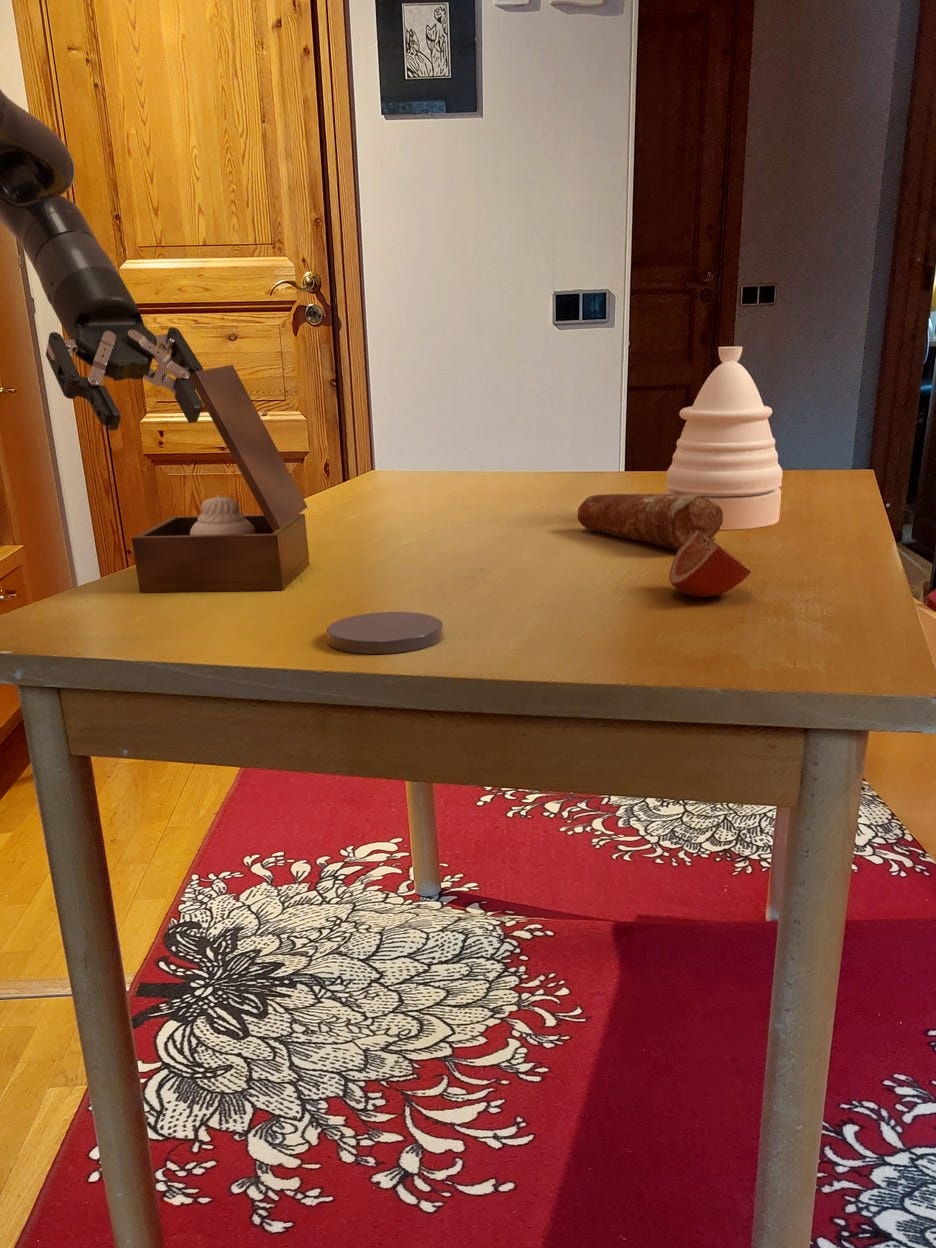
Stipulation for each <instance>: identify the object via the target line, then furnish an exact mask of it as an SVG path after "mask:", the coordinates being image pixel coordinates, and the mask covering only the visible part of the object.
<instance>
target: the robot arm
mask: <svg viewBox="0 0 936 1248" xmlns="http://www.w3.org/2000/svg"><path fill="white" fill-rule="evenodd" d="M75 172H76V171H75V163H74V160H73V157H72V155H71V153H70V150H69V149H68V147H67V146H66V144H65V143H64V142H63V140H62V139H61V137H59V136H58V134H56V132H54V130H53V129H52V128H50V127H49V126H48V125H46V124H45V122H43V121H41V120H40V119H39V118H38V117H36V116H35V115H33V114H31V113H30V112H28V111H26V110H25V109H24V108H22V107H21V106H20V105H18V104H16V103H15V102H14V101H13V100H12V99H10V98H9V97H8V96H7V95H6V94H5V93H4V92H3V91H2V90H1V89H0V224H2V225H3V226H4V227H5V228H6V229H7V230H8V231H9V232H10V233H11V234H12V235H13V236H14V238H15V239H16V240H17V241H18V243H19V244H20V246H21V247H22V249H23V251H24V253H25V254H26V256H27V258H28V260H29V262H30V263H31V265H32V267H33V269H34V271H35V273H36V274H37V276H38V279H39V281H40V285H41V287H42V290H43V292H44V294H45V296H46V299H47V302H48V303H49V304H50V306H51V307H52V310H53V311H54V313H55V315H56V317H57V319H58V321H59V323H60V324H61V326H62V328H63V330H64V332H65V334H66V336H67V339H65V338H63V336H62V335H61V334H60V333H59V332H56V331H53V332H50V333H49V334H48V340H47V345H46V351H45V357H46V359H47V362H48V363H49V366H50V368H51V370H52V372H53V374H54V376H55V379H56V381H57V383H58V386H59V387H60V390H61V392H62V395H63V396H64V397H65V398H67V399H69V400H74V399H76V397H79V398H83V399H84V400H85V401H86V402H87V403H89V405H90V407H91V408H92V410H93V412H94V413H95V416H96V418H97V420H98V421H99V423H100V424H101V425H102V426H106V427H107V429H108V431H118V429H119V426H120V422H121V419H122V417H121V413H120V410H119V408H118V406H116V403H115V402H114V399H113V398H112V396H111V393H110V392H109V390H108V389H107V386H106V385H104V381H105V379H106V377H107V378H109V379H112V380H113V382H117V381H118V382H119V381H124V380H126V379H131V380H143V379H145V380H146V381H148V382H149V383H150V384H152V385H154V386H156V387H159V386H162V387H164V388H165V389H166V390H168V391H170V392H172V393H173V394H174V396H173V397H174V399H175V400H176V402H177V404H178V407H179V408H180V410H181V411H182V414H183V415H184V417H185V418H186V420H187V422H188V423H189V424H194V423H198V421H199V418H200V416H201V412H202V409H203V402H202V400H201V398H200V396H199V394H198V393H197V391H196V389H195V387H194V385H193V383H192V382H191V380H190V378H189V375H191V374H193V373H195V372H198V371H203V370H204V367H203V366H202V364H201V362H200V361H199V359H198V358H197V356H196V355H195V353H194V352H193V350H192V348H191V346H190V345H189V344H188V342H187V340H186V339H185V337H184V336H183V334H182V332H181V331H180V329H178V328H176V327H174V326H172V327H169V328H168V330H167V332H166V334H154V333H153V332H152V331H151V330H149V329H148V328H147V326H146V325H145V324H144V321H143V316H142V315H141V311H140V309H139V307H138V305H137V304H136V302H135V300H134V298H133V297H132V295H131V293H130V291H129V289H128V287H127V286H126V284H125V282H124V280H123V279H122V277H121V274H120V273H119V271H118V270H117V268H116V266H115V264H114V263H113V260H112V259H111V257H110V256H109V255H108V253H107V252H106V250H104V249H103V247H102V245H101V244H100V243H99V241H98V239H97V237H96V235H95V233H94V232H93V230H92V228H91V226H90V224H89V222H88V221H87V219H86V217H85V215H84V214H83V212H82V210H81V209H80V208H79V207H78V205H77V204H75V202H73V201H72V200H71V199H69V198H68V197H65V196H63V195H64V194H65V193H67V192H68V191H69V190H70V189H71V188H72V186H73V183H74V182H75V181H74V180H75ZM74 355H75V356H76V358H78V359H79V360H81V361H82V362H84V364H86V365H88V366H90V367H91V368H90V371H89V374H88V376H87V377H85V376H81V375H80V373H79V371H78V368H77V366H76V364H75V362H74V359H73V356H74ZM153 360H154V361H155V362H156V363H157V366H156V370H154V369H153V368H151V365H152V362H153ZM168 374H170V375H172V376H173V377H175V378H173V377H171V376H169V375H168Z"/></svg>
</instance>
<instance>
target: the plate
mask: <svg viewBox="0 0 936 1248" xmlns="http://www.w3.org/2000/svg"><path fill="white" fill-rule="evenodd" d="M326 638H327V643H328V645H329V646H330V647H331V648H333V649H335V650H338V651H341V652H346V653H352V654H362V655H388V654H389V655H390V654H401V653H408V652H413V651H418V650H422V649H425V648H429V647H431V646H433V645H435V644H438V643H440V642H441V641H442V639H443V638H444V624H443V621H442V620H441V619H440V618H438V617H436V616H433V615H431V614H425V613H420V612H409V611H383V612H382V611H381V612H370V613H363V614H358V615H351V616H348V617H344V618H341V619H338V620H336V621H334V622H332V623H330V624H329V625H328V626H327V628H326Z"/></svg>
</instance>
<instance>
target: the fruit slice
mask: <svg viewBox="0 0 936 1248" xmlns="http://www.w3.org/2000/svg"><path fill="white" fill-rule="evenodd" d="M715 541H716V537H713V538H712V539H710V540H709V539H708V538H707V536H705V535H704V534H702V532H700V531H699V530H697V531H696V532H695V533H694V534H693V535H692V536H691V537H690V538H689V540H687V541H686V542H685V543H684V545H683V546H682V547H680V549H679V550H677V551H676V554H675V556H674V558H673V560H672V564H671V567H670V570H669V575H668V579H669V582H670V584H671V585H672V586H673V587H674V588H675V589H676V590H677V591H680V592H681V593H683V594H684V595H686V596H688V597H694V598H711V597H715V596H718V595H722V594H725V593H726V592H728V591H731V590H732V589H734V588H735V587H736V586H738V585H739V584H741V583H742V582H743V581H744V580H745V579H746V578H748V576H749V575H750V574H751V572H752V571H751V570H750V569H749V568H748V567H746V565H744V564H743V562H742V561H740V560H739V559H737V557H735V555H733V554H732V553H731V552H730V551H728V550H727V549H726V548H724V547H722V546H721V545H719V544H718V543H716V542H715Z"/></svg>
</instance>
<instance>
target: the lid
mask: <svg viewBox="0 0 936 1248" xmlns="http://www.w3.org/2000/svg"><path fill="white" fill-rule="evenodd" d="M189 378H190V380H191V382H192V383H193V385H194V387H195V391H196V393H197V394H198V396H199V399H200V400H201V402H202V405H204V407H205V409H206V411H207V414H208V415H209V417H210V418H211V420H212V422H213V424H214V426H215V428H216V429H217V432H218V434H219V435H220V437H221V439H222V441H223V442H224V444H225V446H226V448H227V449H228V452H229V453H230V455H231V458H232V459H233V460H234V463H235V465H236V466H237V468H238V470H239V471H240V474H241V475H242V478H243V479H244V481H245V483H246V484H247V486H248V488H249V490H250V492H251V494H252V496H253V498H254V499H255V501H256V503H257V504H258V507H259V508H260V510H261V513H262V515H264V516H265V518H266V519H267V521H268V523H269V525H270V527H271V529H272V531H273V532H274V531H276V530H278V529H280V528H281V527H283V526H284V525H285V524H286V523H288V522H289V521H290V520H292V519H293V518H294V517H296V516H297V515H298V514H302V513H303V512H304V511H305V510H306V509H307V508H308V504H307V502H306V501H305V499H304V497H303V495H302V493H301V491H300V489H299V487H298V486H297V484H296V482H295V479H294V478H293V476H292V474H291V472H290V471H289V468H288V466H287V465H286V463H285V461H284V460H283V457H282V455H281V454H280V452H279V450H278V447H277V445H276V444H275V442H274V440H273V438H272V437H271V434H270V433H269V431H268V428H267V427H266V425H265V423H264V421H263V420H262V418H261V416H260V413H259V412H258V410H257V408H256V406H255V404H254V402H253V400H252V398H251V396H250V394H249V393H248V391H247V389H246V387H245V386H244V384H243V382H242V380H241V378H240V376H239V374H238V372H237V370H236V368H235V366H234V365H233V364H229V365H225V366H224V365H223V366H218V367H213V368H208V369H203V371H198V372H195V373H193V374H191V375H189Z"/></svg>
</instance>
